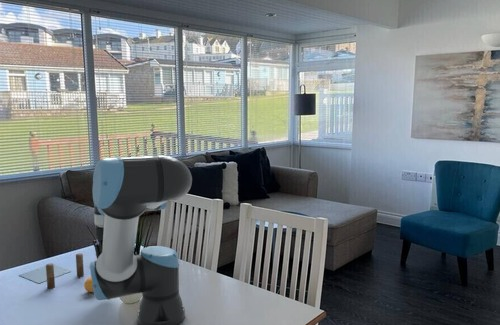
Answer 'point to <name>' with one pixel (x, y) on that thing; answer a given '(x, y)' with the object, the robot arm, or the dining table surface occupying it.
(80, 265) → the right post
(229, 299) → the dining table surface
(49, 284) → the left post
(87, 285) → the ball
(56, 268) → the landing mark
